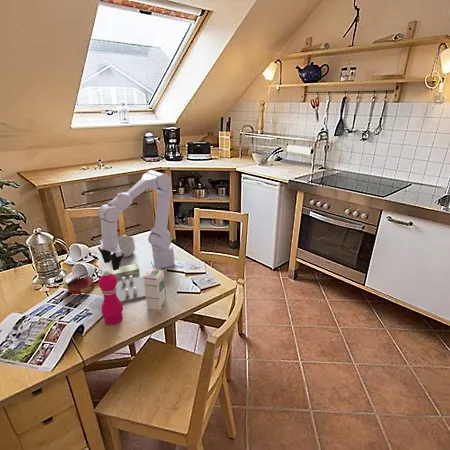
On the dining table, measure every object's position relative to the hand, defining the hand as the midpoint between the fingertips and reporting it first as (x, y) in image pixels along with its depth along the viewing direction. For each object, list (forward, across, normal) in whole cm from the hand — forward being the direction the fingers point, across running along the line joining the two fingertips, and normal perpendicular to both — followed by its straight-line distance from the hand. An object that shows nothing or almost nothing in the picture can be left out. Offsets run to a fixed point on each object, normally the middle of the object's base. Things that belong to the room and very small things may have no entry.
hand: (111, 266), depth 127 cm
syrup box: (+10, +22, +6) cm, 25 cm away
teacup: (+8, -23, +18) cm, 31 cm away
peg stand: (+10, +8, +4) cm, 13 cm away
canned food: (+11, -8, -10) cm, 17 cm away
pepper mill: (+11, +19, -9) cm, 24 cm away
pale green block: (+10, -6, +8) cm, 14 cm away
